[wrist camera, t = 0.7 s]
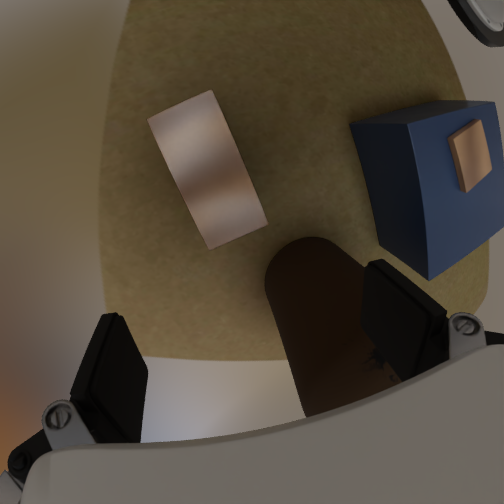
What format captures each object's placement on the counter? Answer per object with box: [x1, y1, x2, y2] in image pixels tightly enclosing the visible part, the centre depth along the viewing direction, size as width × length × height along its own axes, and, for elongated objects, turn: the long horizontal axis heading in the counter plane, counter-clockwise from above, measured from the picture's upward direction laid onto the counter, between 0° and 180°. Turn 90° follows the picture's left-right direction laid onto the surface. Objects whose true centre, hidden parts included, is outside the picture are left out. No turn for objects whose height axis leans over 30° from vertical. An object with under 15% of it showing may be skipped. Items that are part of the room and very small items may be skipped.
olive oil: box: [265, 237, 402, 418], centre depth 18 cm, size 11×11×25 cm
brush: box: [147, 89, 269, 251], centre depth 21 cm, size 11×5×5 cm, turn 22°
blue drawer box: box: [349, 100, 504, 281], centre depth 23 cm, size 15×14×9 cm
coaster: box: [447, 119, 492, 193], centre depth 17 cm, size 5×5×1 cm
